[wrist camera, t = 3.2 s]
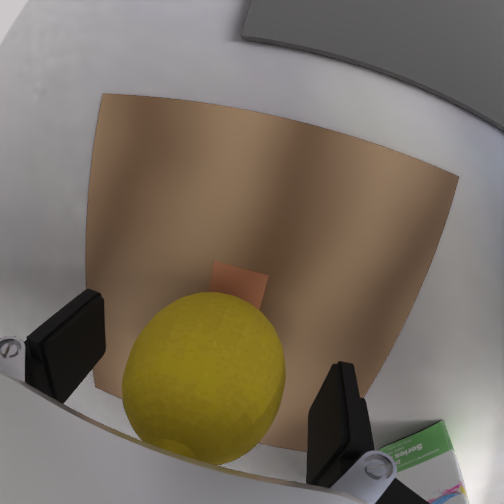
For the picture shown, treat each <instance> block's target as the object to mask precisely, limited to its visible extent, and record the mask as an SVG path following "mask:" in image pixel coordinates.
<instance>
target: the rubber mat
mask: <svg viewBox="0 0 504 504" xmlns="http://www.w3.org/2000/svg"><path fill="white" fill-rule="evenodd" d="M241 36H242V38H243V39H244V40H248V41H255V42H261V43H267V44H273V45H279V46H284V47H289V48H294V49H299V50H303V51H308V52H312V53H316V54H320V55H324V56H328V57H332V58H335V59H339V60H343V61H346V62H349V63H353V64H356V65H359V66H362V67H366V68H369V69H372V70H375V71H377V72H380V73H383V74H386V75H389V76H391V77H394V78H397V79H399V80H402V81H404V82H407V83H409V84H412V85H414V86H417V87H419V88H421V89H424V90H426V91H428V92H431V93H433V94H435V95H437V96H439V97H441V98H444V99H446V100H448V101H450V102H452V103H454V104H456V105H458V106H460V107H462V108H464V109H466V110H468V111H469V112H471V113H473V114H475V115H477V116H479V117H480V118H482V119H484V120H486V121H487V122H489V123H491V124H493V125H494V126H496V127H498V128H499V129H501V130H502V131H504V0H251V2H250V6H249V9H248V12H247V16H246V19H245V23H244V27H243V30H242V34H241Z"/></svg>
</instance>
